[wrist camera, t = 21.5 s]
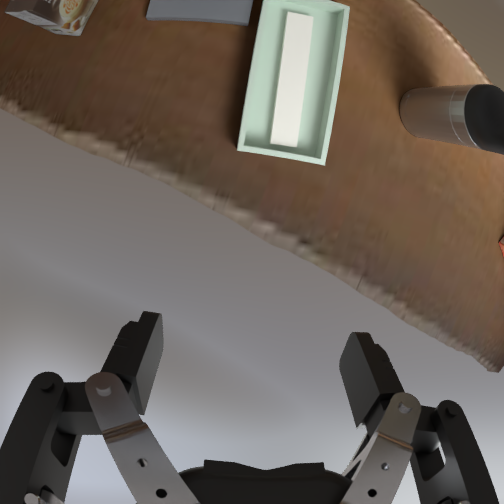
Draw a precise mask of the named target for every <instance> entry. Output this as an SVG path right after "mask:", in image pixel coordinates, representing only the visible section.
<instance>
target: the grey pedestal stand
mask: <svg viewBox="0 0 504 504" xmlns="http://www.w3.org/2000/svg"><path fill="white" fill-rule="evenodd" d="M252 3H253V0H150V4H149V7H148V11H147V15H146V18H147V20H184V21H203V22H216V23H226V24H235V25H243V26H248V23H249V18H250V13H251V8H252Z"/></svg>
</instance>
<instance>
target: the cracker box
mask: <svg viewBox="0 0 504 504" xmlns="http://www.w3.org/2000/svg"><path fill="white" fill-rule="evenodd" d="M499 245H500V247H501V250H502V253H503V256H504V237H503V238H502V239H501V240H500V242H499Z"/></svg>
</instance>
